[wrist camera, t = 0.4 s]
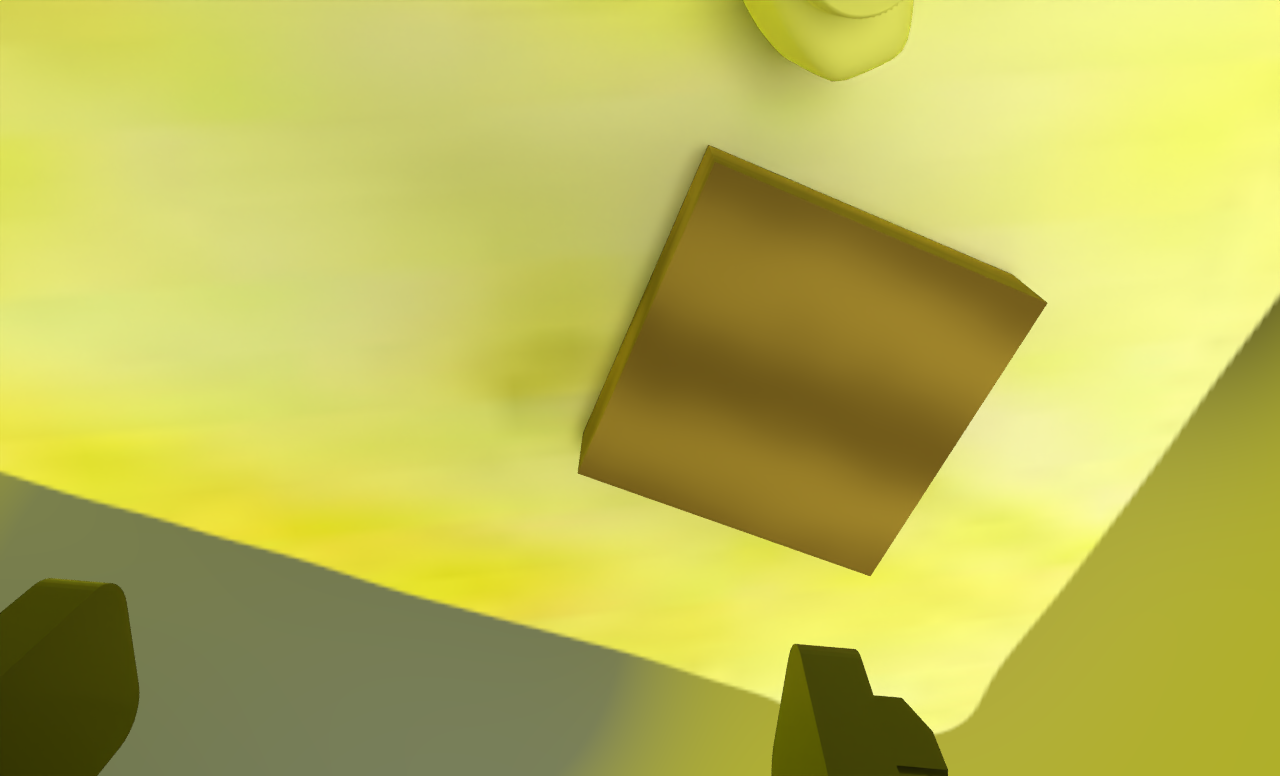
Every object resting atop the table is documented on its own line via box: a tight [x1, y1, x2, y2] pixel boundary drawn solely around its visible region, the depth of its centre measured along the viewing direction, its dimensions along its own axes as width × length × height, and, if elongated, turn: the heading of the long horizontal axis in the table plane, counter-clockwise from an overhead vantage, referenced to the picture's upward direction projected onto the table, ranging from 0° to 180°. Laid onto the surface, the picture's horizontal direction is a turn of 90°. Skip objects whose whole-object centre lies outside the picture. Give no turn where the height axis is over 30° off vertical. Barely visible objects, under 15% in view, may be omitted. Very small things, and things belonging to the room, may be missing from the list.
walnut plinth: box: [578, 145, 1047, 576], centre depth 31 cm, size 12×12×3 cm
